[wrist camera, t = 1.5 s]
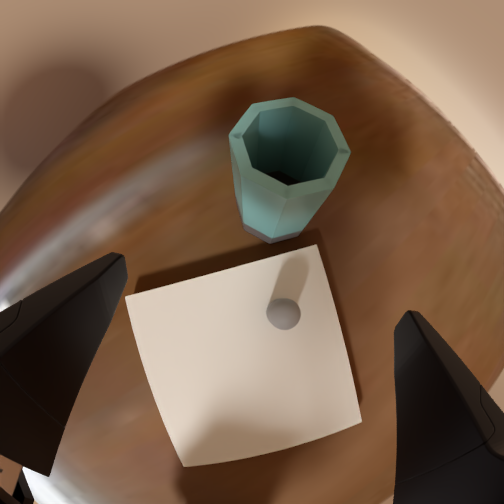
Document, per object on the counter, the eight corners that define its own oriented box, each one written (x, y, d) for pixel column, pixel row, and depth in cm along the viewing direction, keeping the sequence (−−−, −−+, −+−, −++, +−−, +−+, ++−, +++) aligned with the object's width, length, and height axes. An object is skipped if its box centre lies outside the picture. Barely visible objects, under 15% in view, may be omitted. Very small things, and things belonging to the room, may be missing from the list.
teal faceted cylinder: (316, 231, 22) (363, 181, 12) (249, 249, 22) (250, 208, 12) (295, 169, 23) (321, 93, 13) (231, 185, 23) (220, 110, 13)
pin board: (355, 415, 20) (379, 439, 15) (187, 458, 19) (174, 489, 14) (312, 248, 22) (329, 233, 17) (132, 297, 21) (103, 295, 16)
